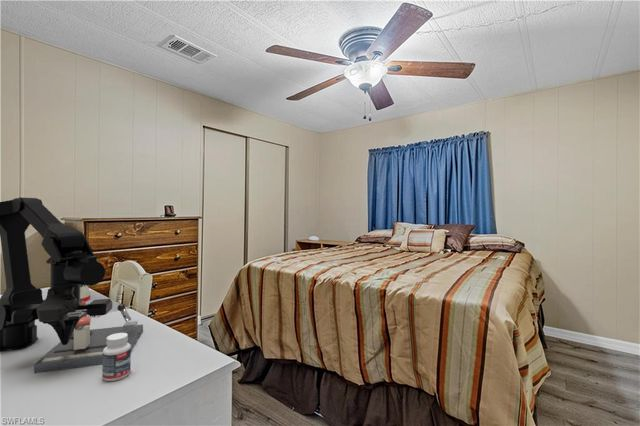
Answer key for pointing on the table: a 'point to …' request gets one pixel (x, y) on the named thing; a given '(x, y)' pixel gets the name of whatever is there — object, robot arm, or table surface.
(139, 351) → the table surface
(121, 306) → the toggle
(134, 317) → the table surface
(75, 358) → the panel
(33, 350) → the table surface
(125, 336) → the pill bottle
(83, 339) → the fader
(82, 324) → the button
